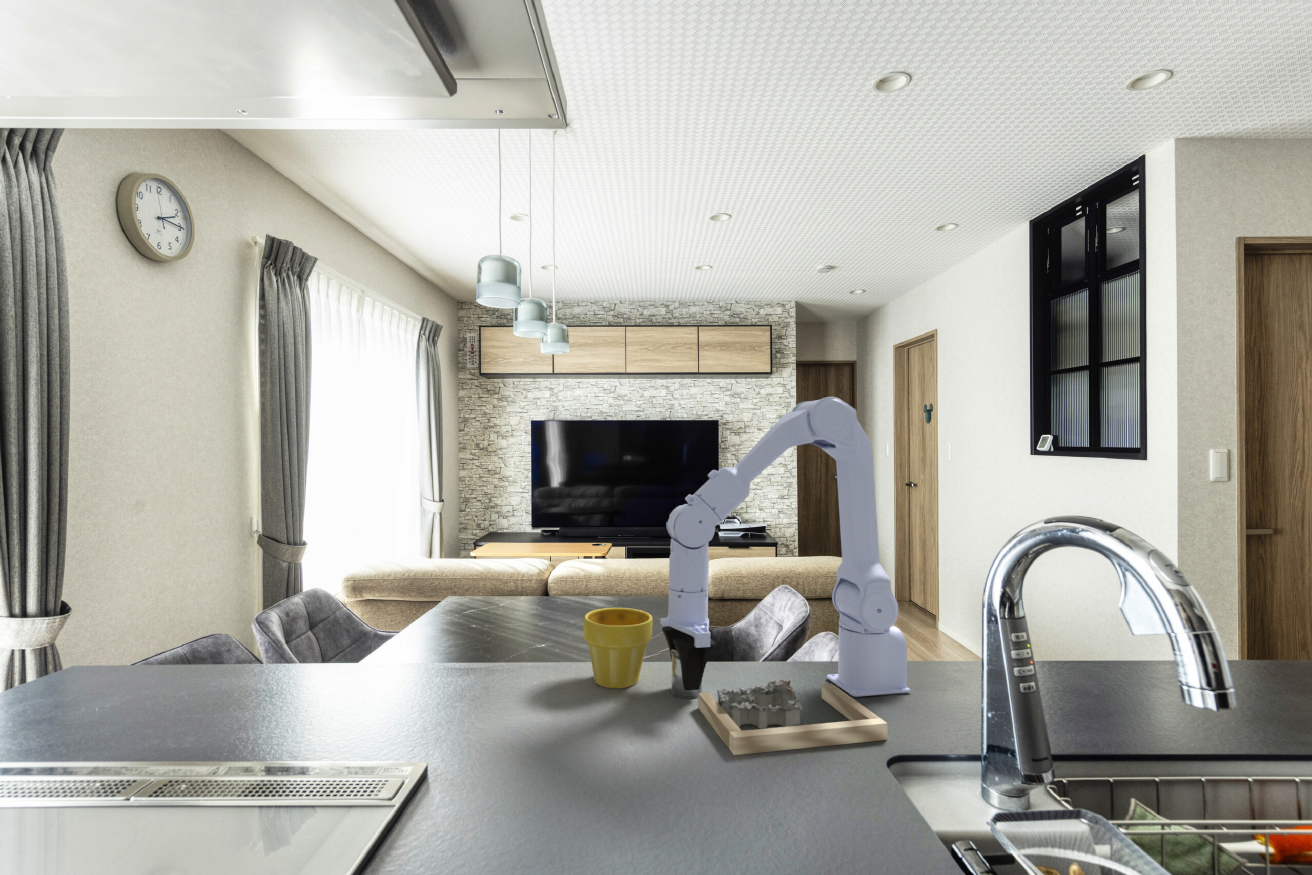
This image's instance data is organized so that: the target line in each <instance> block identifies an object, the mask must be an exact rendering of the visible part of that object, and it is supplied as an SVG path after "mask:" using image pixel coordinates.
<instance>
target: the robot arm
mask: <svg viewBox="0 0 1312 875" xmlns="http://www.w3.org/2000/svg"><path fill="white" fill-rule="evenodd" d="M857 414H858V413H857V410H856V408H854V407H853V406H851V405H849V404H848V403H847V402H845V401H844V400H842V399H840V398H839V397H836V396H827V397H823V398H821V399H817V400H811V401H810V400H809V401H808V400H806V401H802V402H799V403H798V404H796V405H795V406H793V409H792V410H791V411H788V412H787V413H785V414H784V415H783V416H782V417H780V418H779V419H778V420H777V421H776V423H774V425H773V426H772V427H771V428H770V429H769V430H768V431H767V432H766V433H765V434H764V435H763V436H762V438H760V439H759V440H758V442H756V444H755V445H753V446H752V448H751V449H750V450H749V451H748V452H747V453H746V454H745V455H744V456H742V458H741V459H740V460H739V462H738V463H736V465H734V466H732V467H728V466H723V467H721V468H719V469H718V470H716V469H712V470H711V471H710V472H709V473H708V474H707V477H708V478H709V479H708V480H707V481H705V483H704V484H703V485H701V487H700V488H698V490H696V491H695V492H694V493H693V494H688V495H687V496H685V498H684V500H685V501H686V502H687V503H684V504H682V505H678V506H676V507H675V508H674V509H673V510H672V511H671V512H670V513H669V516H668V517H669V518H668V519H667V521H666V524H665V526H666V530H667V532H668V535H669V537H671V538H670V546H669V547H670V555H669V560H668V562H669V563H668V565H669V566H668V568H669V570H668V572H669V573H668V609H667V610H668V614H667V617H661V618H660V622H659V623H660V625H661V626H662V627H661V630H662V633H663V635H664V637H665V640H666V641H667V645H668V650H669V654H670V659H671V662H672V655H671V650H672V648H673V647H676V649H677V652H678V654H679V658H680V663H681V672H682V681H683V686H684V689H685V690H686V691H688V690H699V688H700V685H701V682H702V683H703V677H704V673H705V669H706V666H707V663H708V661H709V658H710V657H711V654H712V653H713V651H714V650H715V647H716V642H715V641H714V640H713V639H711V636H712V635H711V634H712V633H711V632H710V630H709V628H710V618H709V617H708V616H709V612H708V611H709V572H710V570H709V569H710V567H709V566H710V564H709V563H710V561H709V560H710V559H709V558H710V557H709V542H710V541H712V540H713V538H714V536H715V531H716V526H718V525H720V524H721V523H723V521H724V520H726V518H727V517H729V516H730V515H731V514H732V512H733V511H735V510H736V509H737V508H738V507H739V506H740V505H741V504H742V502H744V501H745V500H746V499H747V498H748V497H749V496H750V489H751V488H750V487H751V482H752V481H753V480H755V479H756V478H757V477H758V476H759V475H760V474H762V473H763V471H765V470H766V469H767V468H768V467H769V466H771V465H772V464H773V463H774V462H775V461H776V460H778V458H780V457H781V456H782V455H783V454H784V453H785V452H786V451H787V450H789V449H790V448H792V447H796V446H801V445H807V444H811V445H813V446H816V447H819V448H820V449H821V450H822V451H824V452H825V453H826V454H828V455H829V456H830V457H831V458H833V459H834V460H835V462H836V463H835V465H836V481H837V483H836V484H837V495H838V496H837V497H838V513H839V514H838V516H839V528H840V546H841V563H840V564H839V566H838V568H837V570H836V581H835V582H836V583H835V585H834V587H833V590H832V595H831V599H832V604H833V606H834V608H835V609H836V611H837V612H838V613H839V619H838V657H837V658H838V659H837V660H838V661H837V662H838V664H837V667H838V668H837V669H838V670H837V673H835V674H833V673H831V674H830V673H829V674H827V675H826V678H827V680H829V681H830V682H831V683H832V684H833V683H834V684H835V686H837V687H838V688H839V689H840V688H841V690H842V691H843V690H844V691H845V693H848V694H849V696H852V697H855V698H857V697H869V696H882V695H892V694H905V693H911V689H910V688H909V687H908V685H907V684H908V645H907V641H906V638H905V635H904V634H903V631H901V629H900V628H899V627H898V626H895V625H894V624H895V622H896V621H897V619H898V616H899V603H898V601H897V599H896V597H895V595H894V593H893V591H892V584H891V578H890V577H889V576H888V573H887V572H886V571H885V569H884V567H882V564H881V563H880V548H879V534H878V533H879V532H878V516H877V504H876V487H875V485H876V484H875V467H874V452H873V450H874V449H873V445H872V442H871V440H870V439H869V438H868V436H867V434H866V432H865V430H864V429H863V427H862V425H861V424H860V422H859V421H858V418H857V417H858V415H857Z"/></svg>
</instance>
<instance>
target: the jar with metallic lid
mask: <svg viewBox="0 0 1312 875" xmlns="http://www.w3.org/2000/svg"><path fill="white" fill-rule="evenodd" d="M671 655H672V661H671V684H670V685H671V688H670V689H671V691H670V692H671V695H672V696H674V697H675V698H678V699H679V698H680V699H684V700H691V699H698V693H703V681H702V682H701V685H700V688H699V690H688V691H686V690H685V689H684V686H683V681H682V672H681V663H680V658H679V654H678V652H677V649H676V647H673V648H672V650H671ZM671 655H670V656H671Z"/></svg>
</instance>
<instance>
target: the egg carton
mask: <svg viewBox="0 0 1312 875" xmlns="http://www.w3.org/2000/svg"><path fill="white" fill-rule="evenodd" d="M716 694H717V699H718V700H717V702H718V704H719V705H720V706H721V707H722V708H723V710H724V711H725V712H726V713H727V714H728V715H729V717H730V718H731V719H732V720H733V721H734V722H735V724H736V725H737V726H738V727H739V728H740V729H741V726H742V725H754V726H756V727H757V728H758V729H767V728H768V726H771V725H779V726H780V727H789V726H799V725H800V724H801V710H802V711H803V707H802V705H801V703H800V702H799V699H797V696H796V693H795V689H794V688H793V686H792V684H791V680H784V679H780V680H773V681H769V682H768V683H767V685H764V686H763V685H760V684H759V685H756V686H755V687H749V688H746V687H739V688H733V689H728V690H726V689H725V688H723V689H722V688H716Z"/></svg>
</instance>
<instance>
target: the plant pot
mask: <svg viewBox="0 0 1312 875" xmlns="http://www.w3.org/2000/svg"><path fill="white" fill-rule="evenodd" d="M653 619H654V618H653V616H652V615H651V614H650V613H649V612H647V611H644V610H641V609H635V608H629V607H606V608H599V609H593V610H591V611H589V612H588V613H586V614H585V615H584V619H583V639H584V640H585V642H586V643H588V649H589V655H590V661H591V666H592V673H593V679H594V682H595V683H596V684H597V685H599V686H601V687H603V688H607V689H626V688H630V687H633V686H635V685H636V684H637V683H638V681H639V678H640V676H641V671H642V666H643V662H644V659H645V654H646V650H647V645H648V643H650V641H651V640H652V636H653Z"/></svg>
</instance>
